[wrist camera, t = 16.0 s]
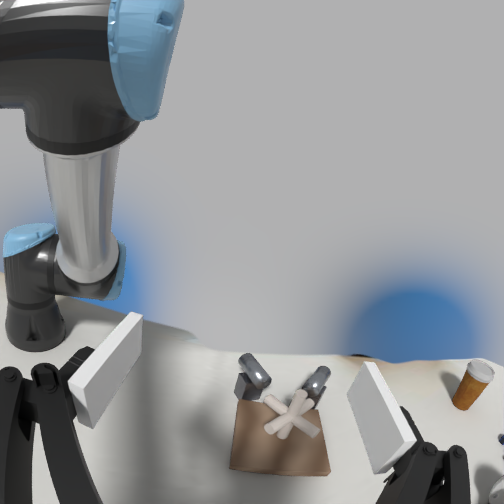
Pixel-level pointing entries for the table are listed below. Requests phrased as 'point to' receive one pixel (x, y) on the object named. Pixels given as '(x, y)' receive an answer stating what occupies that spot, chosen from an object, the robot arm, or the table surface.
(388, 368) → the table surface
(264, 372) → the grey capsule on block
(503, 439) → the bar clamp
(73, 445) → the robot arm
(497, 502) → the valve
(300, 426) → the pipe connector
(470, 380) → the disposable coffee cup
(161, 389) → the table surface
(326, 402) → the table surface
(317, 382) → the dark grey piece
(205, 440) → the table surface
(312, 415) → the mounting pad
